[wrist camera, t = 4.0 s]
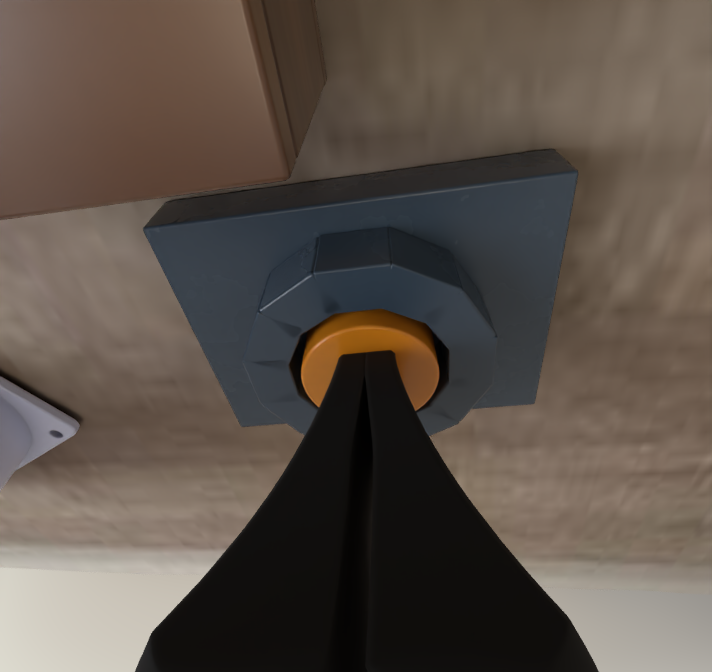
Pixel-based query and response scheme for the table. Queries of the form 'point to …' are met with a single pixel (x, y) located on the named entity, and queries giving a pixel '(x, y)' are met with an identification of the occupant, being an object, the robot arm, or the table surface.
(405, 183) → the block
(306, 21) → the compartment
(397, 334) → the button
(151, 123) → the lid
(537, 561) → the table surface
